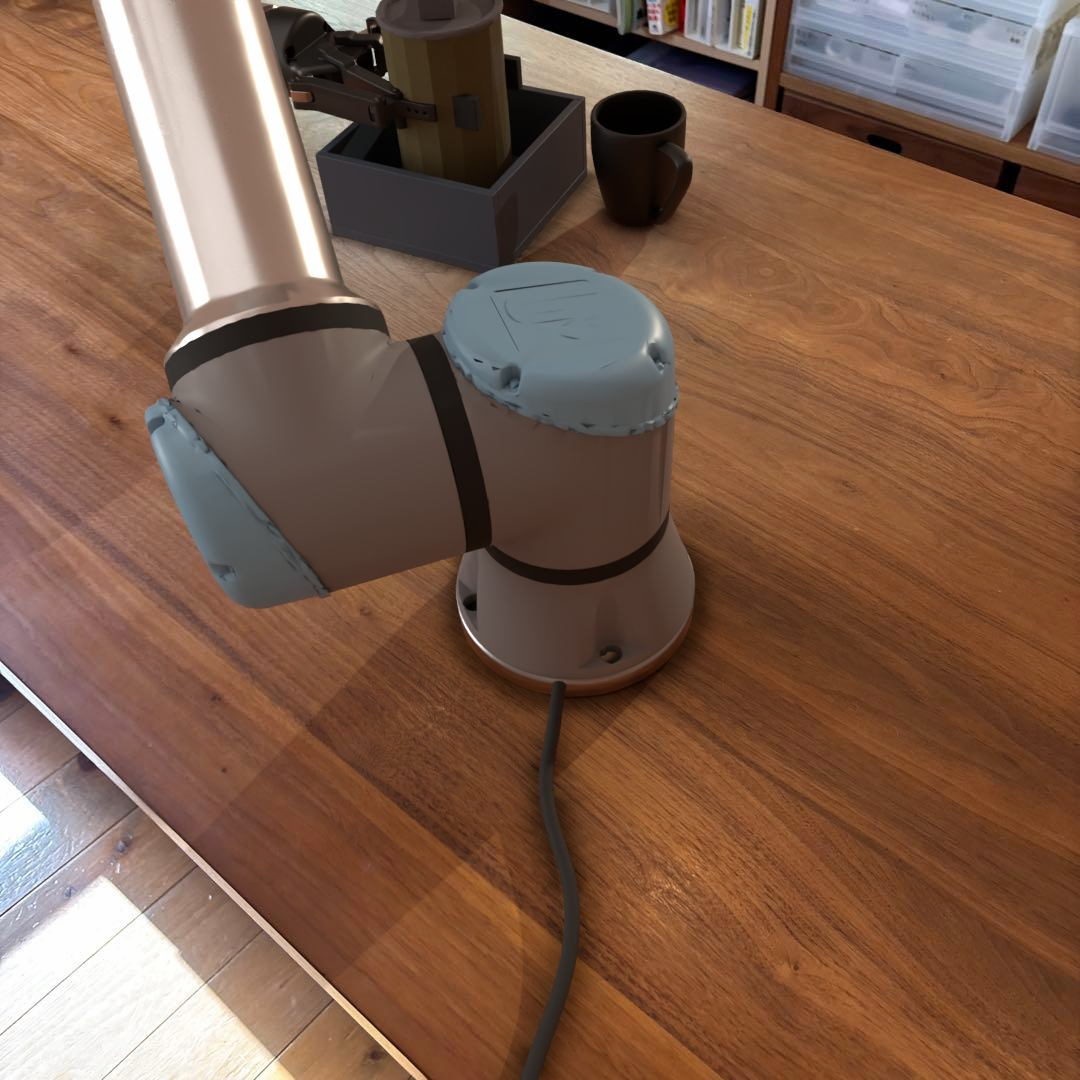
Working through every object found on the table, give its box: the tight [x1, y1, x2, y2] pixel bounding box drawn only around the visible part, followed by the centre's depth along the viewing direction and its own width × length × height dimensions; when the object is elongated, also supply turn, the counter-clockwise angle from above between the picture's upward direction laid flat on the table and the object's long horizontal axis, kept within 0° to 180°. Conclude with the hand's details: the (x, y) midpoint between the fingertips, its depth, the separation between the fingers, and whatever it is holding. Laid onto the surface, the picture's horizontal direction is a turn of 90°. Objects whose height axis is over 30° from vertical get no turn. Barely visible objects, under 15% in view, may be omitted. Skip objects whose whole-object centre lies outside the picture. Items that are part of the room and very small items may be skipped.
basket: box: [314, 84, 588, 274], centre depth 101 cm, size 18×18×8 cm
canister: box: [374, 0, 513, 189], centre depth 96 cm, size 11×10×20 cm
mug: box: [589, 89, 694, 228], centre depth 97 cm, size 8×12×10 cm
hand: (499, 93), depth 93 cm, fingers open, 7 cm apart
